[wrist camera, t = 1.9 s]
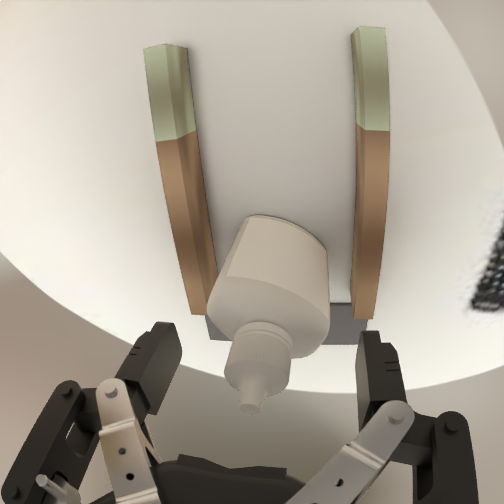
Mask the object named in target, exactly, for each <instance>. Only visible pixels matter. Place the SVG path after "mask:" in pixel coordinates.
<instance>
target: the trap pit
mask: <svg viewBox="0 0 504 504" xmlns="http://www.w3.org/2000/svg"><path fill="white" fill-rule="evenodd" d="M205 319H206V323H207V327H208V332H209V336H210V340H222V341H232V340H230V339H229V338H228V337H227V336H226V335H224V334H223V333H222V332H221V331H220V330H219V329H218V328H217V327H216V326H215V324H214V323H213V322H212V321H211V319H210V318H209V316H208V315H205ZM367 321H368V319H354V318H353V310H352V303H330V327H329V331H328V334H327V337H326V338H325V340H324V341H323V342H322V344H321V345H356V344H358V343H359V337H360V332H361V331H366V327H367Z"/></svg>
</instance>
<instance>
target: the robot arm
mask: <svg viewBox="0 0 504 504" xmlns="http://www.w3.org/2000/svg"><path fill="white" fill-rule="evenodd" d="M181 357H182V347H181V344H180V340H179V337H178V334H177V330H176V327H175V325H174V323H169V322H156V323H155V325H154V326H153V328H152V330H151V331H150V332H147V331H146V332H145V333H144V334H143V335H141V336H140V337H139V338H138V339H137V341H136V342H135V344H134V346H133V348H132V349H131V351H130V352H129V355H128V356H127V357H126V359H125V360H124V362H123V364H122V366H121V367H120V369H119V371H118V372H117V374H116V376H115V377H114V378H111V379H107V380H105V381H103V382H102V383H101V384H100V385H99V386H98V387H97V388H85V389H81V387H80V386H79V384H78V383H77V382H75V381H72V380H69V381H64V382H62V383H61V384H59V385H58V386H57V387H56V389H55V390H54V392H53V394H52V395H51V397H50V399H49V400H48V402H47V404H46V405H45V407H44V409H43V411H42V412H41V414H40V416H39V418H38V419H37V421H36V423H35V424H34V426H33V428H32V430H31V432H30V433H29V435H28V437H27V439H26V441H25V443H24V444H23V446H22V448H21V450H20V452H19V454H18V456H17V458H16V460H15V462H14V464H13V466H12V467H11V470H10V471H9V473H8V476H7V478H6V480H5V482H4V484H3V486H2V489H1V496H2V499H3V501H4V502H5V504H81V497H80V494H79V492H78V489H79V487H80V484H81V482H82V480H83V477H84V475H85V472H86V470H87V468H88V465H89V463H90V461H91V458H92V456H93V454H94V451H95V449H96V447H97V444H98V442H99V440H100V441H101V446H102V450H103V454H104V458H105V462H106V466H107V470H108V474H109V477H110V481H111V484H112V488H113V491H111V492H110V493H108V494H106V495H104V496H103V497H101V498H99V499H97V500H95V501H94V502H92V503H90V504H357V503H358V501H359V500H360V499H361V498H362V496H363V495H364V494H365V493H366V491H367V490H368V489H369V488H370V486H371V485H372V484H373V483H374V482H375V480H376V479H377V478H378V477H379V475H380V474H381V473H382V471H383V470H384V469H385V468H386V466H387V465H388V463H389V462H390V461H394V462H399V463H404V464H409V465H412V467H413V504H479V501H478V489H477V479H476V471H475V463H474V456H473V450H472V443H471V437H470V432H469V426H468V423H467V420H466V419H465V417H464V416H463V415H461V414H460V413H458V412H454V411H448V412H444V413H442V414H441V415H440V416H438V418H435V417H430V416H425V415H421V414H418V413H416V412H415V411H414V410H413V409H412V408H411V406H409V405H408V403H407V400H406V395H405V389H404V384H403V379H402V373H401V369H400V364H399V359H398V354H397V351H396V350H395V348H394V347H393V346H392V344H391V343H381V340H380V334H379V331H361V332H360V337H359V343H358V349H357V354H356V364H355V370H356V384H357V400H358V420H359V434H358V435H357V437H356V438H355V439H354V440H353V441H352V442H351V443H350V444H346V445H345V446H344V447H343V448H341V449H340V451H339V452H338V453H337V454H336V455H335V456H334V457H333V458H332V459H331V460H330V461H329V462H328V463H327V464H326V465H325V466H324V467H323V468H322V469H321V470H320V471H319V472H318V473H317V474H316V476H314V477H313V478H312V479H311V480H310V481H309V482H308V483H307V484H306V483H305V482H303V481H301V480H300V479H298V478H295V477H293V476H290V475H287V472H286V471H287V468H276V467H264V466H255V467H245V468H234V469H229V468H226V467H223V466H221V465H218V464H216V463H213V462H211V461H209V460H206V459H204V458H198V457H193V456H187V455H183V454H179V457H178V459H177V460H174V461H167V462H162V460H161V458H160V457H159V455H158V452H157V450H156V447H155V445H154V442H153V439H152V437H151V434H150V431H149V428H148V426H147V423H146V420H145V417H146V415H147V413H148V414H153V415H157V412H158V410H159V408H160V406H161V403H162V401H163V399H164V397H165V394H166V392H167V390H168V387H169V385H170V383H171V381H172V378H173V376H174V373H175V372H176V369H177V367H178V365H179V363H180V361H181ZM73 423H74V425H73V427H72V429H71V431H70V433H69V435H68V437H67V439H66V436H67V433H68V431H69V430H70V428H71V426H72V424H73Z"/></svg>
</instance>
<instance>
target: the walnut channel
mask: <svg viewBox="0 0 504 504" xmlns="http://www.w3.org/2000/svg"><path fill="white" fill-rule="evenodd" d="M351 42H352V54H353V67H354V84H355V105H356V205H355V228H354V245H353V260H352V273H351V284H350V295H351V302H352V310H353V318H354V319H373V315H374V309H375V303H376V296H377V290H378V283H379V276H380V268H381V260H382V252H383V243H384V233H385V223H386V211H387V197H388V179H389V153H390V99H389V74H388V58H387V45H386V34H385V28H381V27H367V26H359V27H358V28H357V29H356V30H355V31H354V32H353V33H352V35H351ZM144 59H145V68H146V76H147V84H148V92H149V100H150V107H151V114H152V121H153V128H154V134H155V141H156V147H157V153H158V159H159V165H160V170H161V176H162V182H163V187H164V192H165V198H166V203H167V208H168V213H169V218H170V223H171V228H172V233H173V237H174V242H175V247H176V251H177V256H178V260H179V265H180V269H181V273H182V278H183V282H184V286H185V290H186V294H187V298H188V303H189V307H190V311H191V314H193V315H208V314H207V303H208V300H209V297H210V294H211V292H212V290H213V287H214V285H215V283H216V280H217V278H218V272H217V266H216V260H215V254H214V248H213V241H212V235H211V229H210V222H209V216H208V209H207V203H206V196H205V189H204V182H203V175H202V168H201V161H200V154H199V146H198V139H197V131H196V123H195V115H194V107H193V99H192V91H191V82H190V73H189V64H188V55H187V48H183V47H179V46H174V45H170V44H162V45H157V46H153V47H150V48H146V49H144Z"/></svg>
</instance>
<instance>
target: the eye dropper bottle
mask: <svg viewBox="0 0 504 504" xmlns="http://www.w3.org/2000/svg"><path fill="white" fill-rule="evenodd" d="M207 314H208V316H209V318H210V319H211V321H212V322H213V323H214V324H215V326H216V327H217V328H218V329H219V330H220V331H221V332H222V333H223V334H224V335H226V336H227V337H228V338H229V339H230V340H232V341H233V343H232V346H231V349H230V353H229V356H228V359H227V363H226V366H225V370H224V373H225V374H224V375H225V378H226V380H227V382H228V383H229V384H230V385H231V386H232V387H233V388H234V389H236V390H238V391H239V392H240V393H239V394H240V396H239V403H240V404H239V408H240V410H241V411H242V412H244V413H246V414H251V415H253V414H257V413H259V411H260V409H261V406H262V404H263V402H264V400H265V397H268V396H273V395H276V394H278V393H280V392H281V391H283V390H284V389H285V388H286V386H287V385H288V382H289V374H290V365H291V359H293V358H302V357H307V356H309V355H311V354H312V353H314V352H315V351H316V350H317V348H318V347H319V346H320V345H321V344H322V342H323V341H324V340H325V338H326V337H327V334H328V331H329V327H330V295H329V275H328V259H327V253H326V250H325V248H324V247H323V245H322V244H321V243H320V242H319V241H318V240H317V239H316V238H315V237H314V236H312V235H311V234H310V233H309V232H307V231H306V230H304V229H303V228H301V227H299V226H298V225H296V224H293V223H291V222H289V221H286V220H283V219H280V218H276V217H271V216H263V215H252V216H249V217H247V218H246V219H245V220H244V221H243V223H242V225H241V227H240V229H239V231H238V234H237V236H236V238H235V240H234V242H233V244H232V247H231V249H230V251H229V253H228V255H227V258H226V260H225V262H224V264H223V266H222V269H221V271H220V273H219V275H218V278H217V280H216V283H215V285H214V287H213V290H212V292H211V294H210V297H209V300H208V303H207Z"/></svg>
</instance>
